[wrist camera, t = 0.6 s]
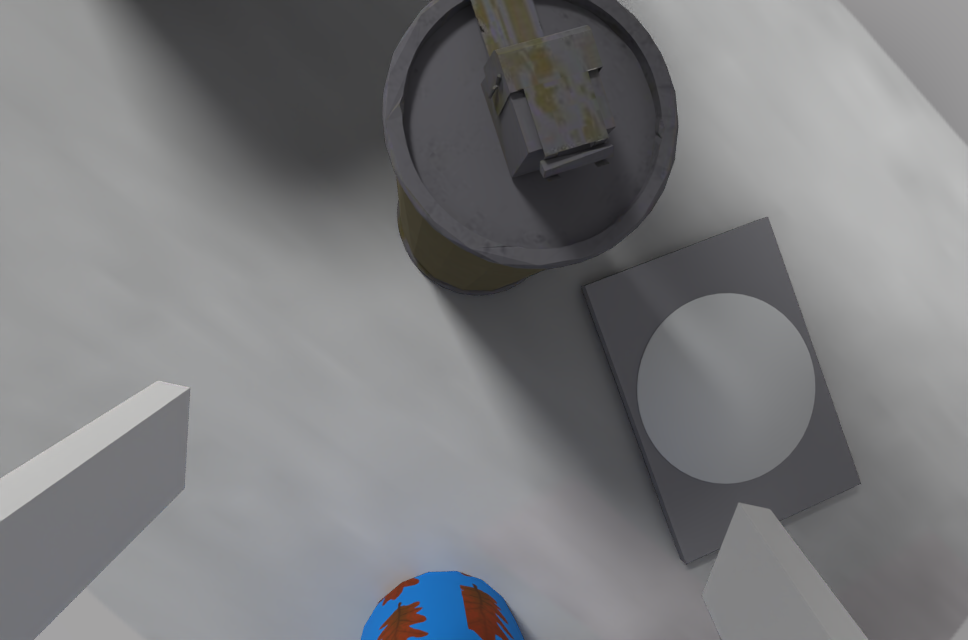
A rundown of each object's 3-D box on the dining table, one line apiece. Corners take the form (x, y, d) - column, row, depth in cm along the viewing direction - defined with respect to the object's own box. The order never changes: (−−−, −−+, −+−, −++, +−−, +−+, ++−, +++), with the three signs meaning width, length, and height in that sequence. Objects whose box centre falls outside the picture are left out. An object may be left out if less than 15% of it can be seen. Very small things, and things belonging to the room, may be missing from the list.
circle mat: (581, 286, 37) (585, 286, 36) (760, 218, 38) (768, 216, 37) (680, 559, 37) (686, 564, 36) (851, 480, 39) (862, 484, 38)
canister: (574, 267, 37) (764, 200, 17) (427, 316, 35) (444, 305, 15) (524, 113, 36) (657, -143, 16) (373, 156, 35) (321, -65, 15)
